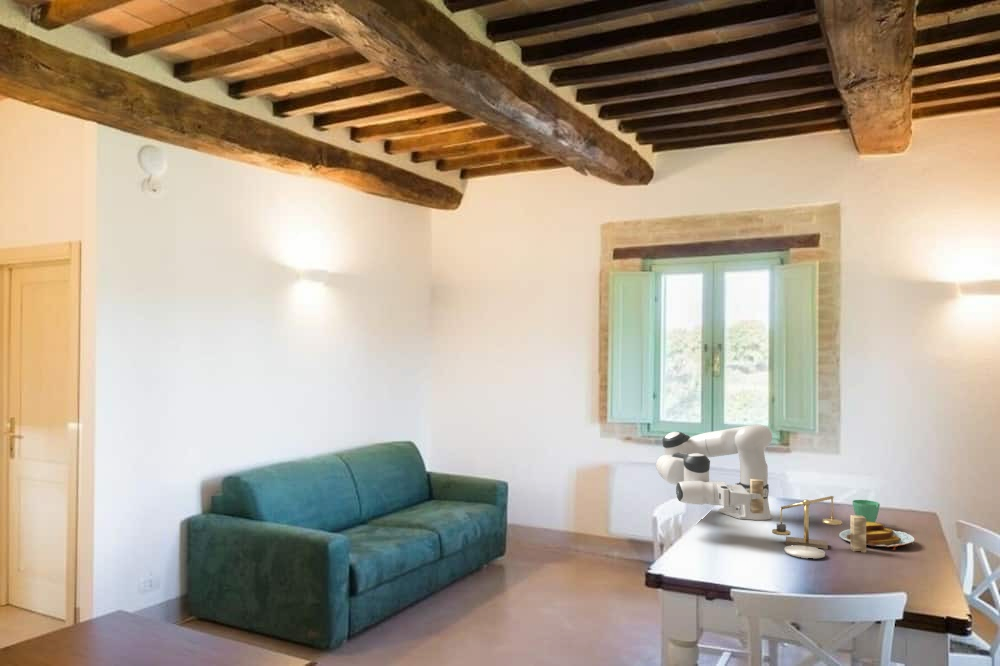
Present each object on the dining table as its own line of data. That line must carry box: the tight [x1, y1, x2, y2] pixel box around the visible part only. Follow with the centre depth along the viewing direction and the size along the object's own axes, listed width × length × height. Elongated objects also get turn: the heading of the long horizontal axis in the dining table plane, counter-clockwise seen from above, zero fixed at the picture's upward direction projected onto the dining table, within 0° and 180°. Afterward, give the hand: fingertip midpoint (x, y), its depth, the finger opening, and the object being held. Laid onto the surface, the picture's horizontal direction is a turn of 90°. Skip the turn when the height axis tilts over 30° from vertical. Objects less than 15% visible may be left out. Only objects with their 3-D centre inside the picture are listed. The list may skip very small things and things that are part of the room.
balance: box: [771, 495, 843, 550], centre depth 261 cm, size 24×7×19 cm, turn 67°
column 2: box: [849, 514, 867, 553], centre depth 254 cm, size 4×4×12 cm
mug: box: [852, 499, 881, 523], centre depth 292 cm, size 15×10×10 cm
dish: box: [784, 545, 826, 559], centre depth 248 cm, size 13×13×2 cm
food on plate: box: [838, 521, 916, 551], centre depth 267 cm, size 25×25×7 cm
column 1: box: [750, 479, 763, 514], centre depth 267 cm, size 4×4×12 cm
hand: (759, 494), depth 267 cm, fingers closed on column 1, 4 cm apart
